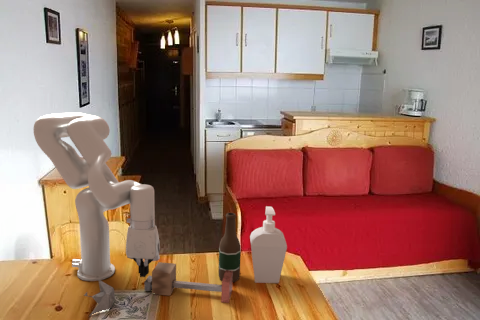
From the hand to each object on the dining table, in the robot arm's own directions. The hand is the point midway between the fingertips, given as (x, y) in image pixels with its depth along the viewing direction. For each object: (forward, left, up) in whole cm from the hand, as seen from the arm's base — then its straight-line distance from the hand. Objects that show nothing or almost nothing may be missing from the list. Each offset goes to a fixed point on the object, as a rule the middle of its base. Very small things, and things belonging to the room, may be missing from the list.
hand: (143, 275), depth 132 cm
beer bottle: (+27, +12, -5) cm, 30 cm away
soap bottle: (+40, +15, -5) cm, 43 cm away
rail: (+15, 0, -5) cm, 16 cm away
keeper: (+7, 0, -5) cm, 8 cm away
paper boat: (-10, -12, -5) cm, 16 cm away
